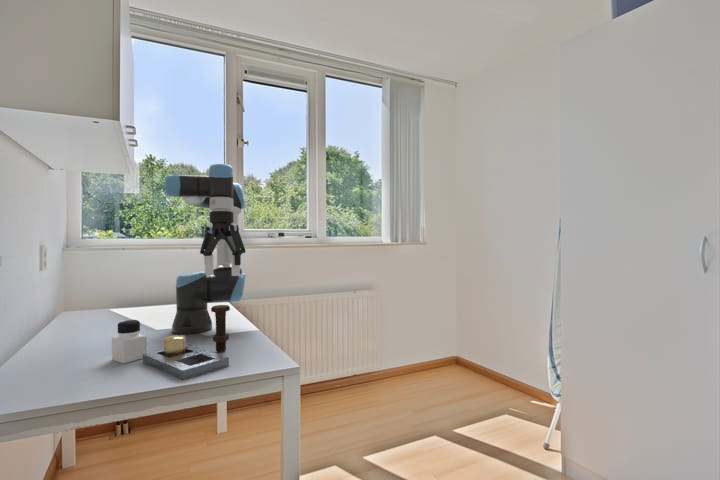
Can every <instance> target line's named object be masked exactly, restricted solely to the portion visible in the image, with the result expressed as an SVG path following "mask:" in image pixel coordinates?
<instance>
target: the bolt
mask: <svg viewBox="0 0 720 480" xmlns="http://www.w3.org/2000/svg"><path fill="white" fill-rule="evenodd" d="M230 309H231V306H229V305H227V304H218V305H217V304H216V305H213V306H212V307H211V308H210V312H211V313H214V317H215V334H214V335H213V336H212V341H213V342H214V343H215V351H216V352H217V353H222V352H226V351H227V341H229V339H230V338H229V337H230V336H229V334H228V333H226V332H227V330H226V325H227V323H226V322H227V320H226V319H227V318H226V317H227V312H229V311H231V310H230Z"/></svg>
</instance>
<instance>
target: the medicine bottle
mask: <svg viewBox="0 0 720 480" xmlns="http://www.w3.org/2000/svg"><path fill="white" fill-rule="evenodd" d="M145 353H147V335H144V334H141V322H140V320H137V319H125V320H122V321H119V322H118V323H117V335H116V336H112V337H111V360H113V361H116V362H118V363H121V364H123V363H124V364H128V363H130V362H131V361H132V362H135V361H139V360H143V354H145Z"/></svg>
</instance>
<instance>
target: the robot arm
mask: <svg viewBox="0 0 720 480" xmlns="http://www.w3.org/2000/svg"><path fill="white" fill-rule="evenodd" d="M233 168H234V167H233V166H231V165H230V164H226V163H225V164H224V163H215V164H214V163H213V164H211V165H209V170H208V175H190V174H189V175H188V174H187V175H185V174H168V175H166V177H165V182H164V188H165V193H166V196H167V197H172V198H182V199H183V200H184V201H185V202H186V203H187V204H188V205H189V204H190V205H191V206H194V207H198V208H202V209H209V210H210V212H209V223H211V224H212V226H206V227H205V234H204V236H203V240H202V244H201V246H200V249H199V250H200V251H199V254H200V255H203V256H204V271H193V272H188V273H184V274H179V276H177V278H176V285H175V290H176V291H175V293H176V294H175V296H176V301H175V302H176V312H175V316H174V318H173V322H172V325H171V332H172V333H173V334H178V335H188V334H197V333H204V332H207V331H210V330H211V329H212V328H213V322H212V319H211V316H210V312H209V310H208V304H216V303H217V304H218V303H233V302H240V301H242V299H243V296H244V292H245V281H246V273H244V272H242V271H243V270H242V268H241V263H242V257H241V256H242V254H245V253H246V248H245V245H244V241H243V240H242V237H241V234H240V230H239V224H238V219H239V217H238V216H239V215H240V214H241V213H242V210H243V209H245V201H244V199H245V198H244V193H243V188H242V185H241V184H240V183H239V182H238V183H237V182H234V170H233ZM215 248H216V266H215V268H214V254H213V253H214V252H215Z"/></svg>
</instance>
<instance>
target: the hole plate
mask: <svg viewBox="0 0 720 480" xmlns="http://www.w3.org/2000/svg"><path fill="white" fill-rule="evenodd" d="M186 340H187V339H186V335H184V334H178V335H177V334H176V335H175V334H174V335H170V336H167V337H164V338H163V349H159V350H155V351H151V352H146V353H145V354H143V359H142V363H144V364H146V365H148V366H150V367H153V368H154V369H158V370H160V371H162V372H164V373H167V374H169V375H171V376H174V377H176V378H178V379H180V380H182V381H184V380H187V379H191V378H194V377H197V376H200V375H203V374H206V373H210V372H213V371H216V370H220V369H223V368H226V367H229V366H230V357H229V356H226V355H222V354H221V353H218V352H217V353H216V352H213V351H210V350H207V349H204V348H201V347H197V346H194V345H192V344H188V343H186Z"/></svg>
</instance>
